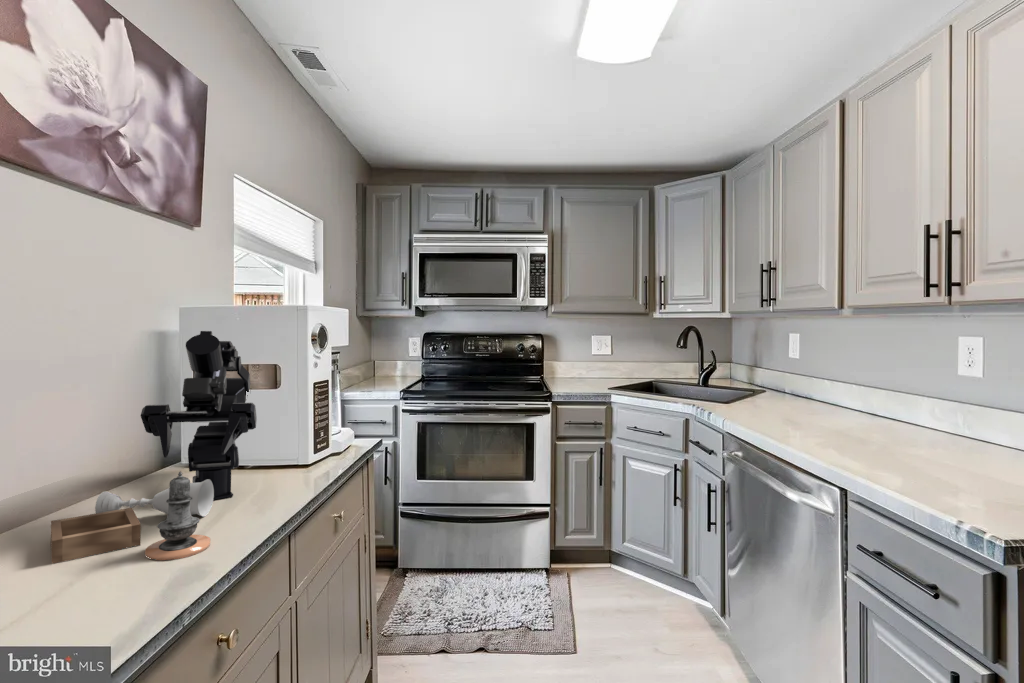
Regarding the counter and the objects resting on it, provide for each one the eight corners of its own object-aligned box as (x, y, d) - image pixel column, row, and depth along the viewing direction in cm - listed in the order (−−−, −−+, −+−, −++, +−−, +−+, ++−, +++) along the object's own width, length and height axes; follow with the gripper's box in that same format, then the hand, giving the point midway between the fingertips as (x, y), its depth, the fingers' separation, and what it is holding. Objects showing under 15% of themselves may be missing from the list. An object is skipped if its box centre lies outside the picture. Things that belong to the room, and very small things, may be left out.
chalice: (98, 533, 96) (202, 524, 98) (86, 505, 93) (194, 497, 96) (119, 505, 102) (216, 498, 105) (108, 478, 99) (209, 471, 102)
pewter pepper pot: (193, 549, 83) (195, 474, 83) (151, 553, 81) (153, 477, 81) (203, 536, 88) (204, 466, 89) (163, 539, 87) (165, 468, 87)
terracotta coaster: (203, 533, 91) (203, 530, 91) (216, 550, 84) (216, 546, 84) (141, 547, 85) (141, 543, 85) (149, 565, 78) (150, 561, 78)
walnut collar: (131, 526, 94) (131, 507, 94) (140, 545, 86) (140, 524, 86) (50, 541, 86) (50, 521, 86) (51, 563, 78) (52, 540, 78)
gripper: (144, 361, 96) (122, 431, 85) (256, 362, 102) (247, 426, 92) (156, 399, 103) (137, 467, 93) (259, 397, 110) (252, 460, 99)
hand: (194, 454), depth 94 cm, fingers open, 9 cm apart
